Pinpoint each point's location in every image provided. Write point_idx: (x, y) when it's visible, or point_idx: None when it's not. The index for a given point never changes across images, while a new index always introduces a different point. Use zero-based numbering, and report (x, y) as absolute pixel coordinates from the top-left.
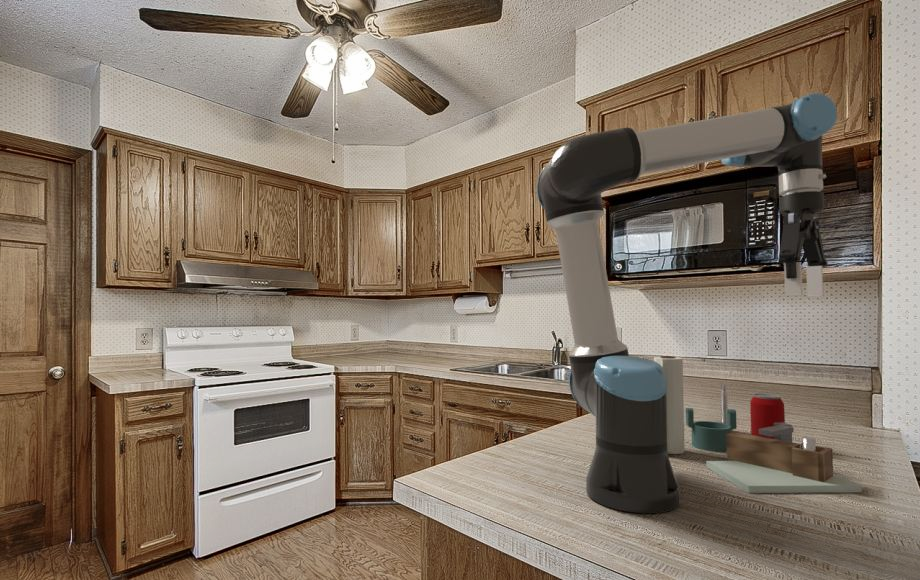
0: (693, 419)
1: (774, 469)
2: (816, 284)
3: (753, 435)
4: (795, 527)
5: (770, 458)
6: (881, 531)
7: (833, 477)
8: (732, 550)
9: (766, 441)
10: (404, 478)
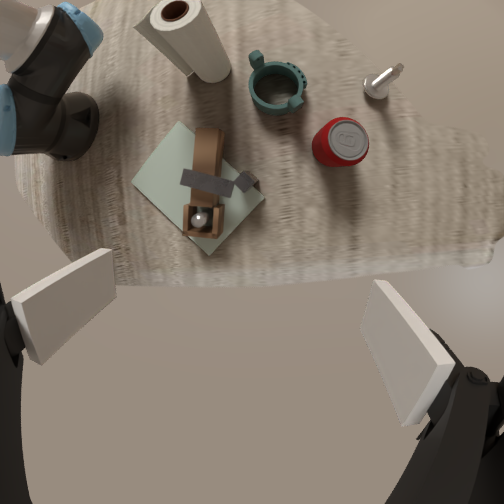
0: (254, 66)
1: None
2: (380, 340)
3: (216, 153)
4: (97, 228)
5: None
6: (130, 271)
7: None
8: (51, 211)
9: None
10: None
